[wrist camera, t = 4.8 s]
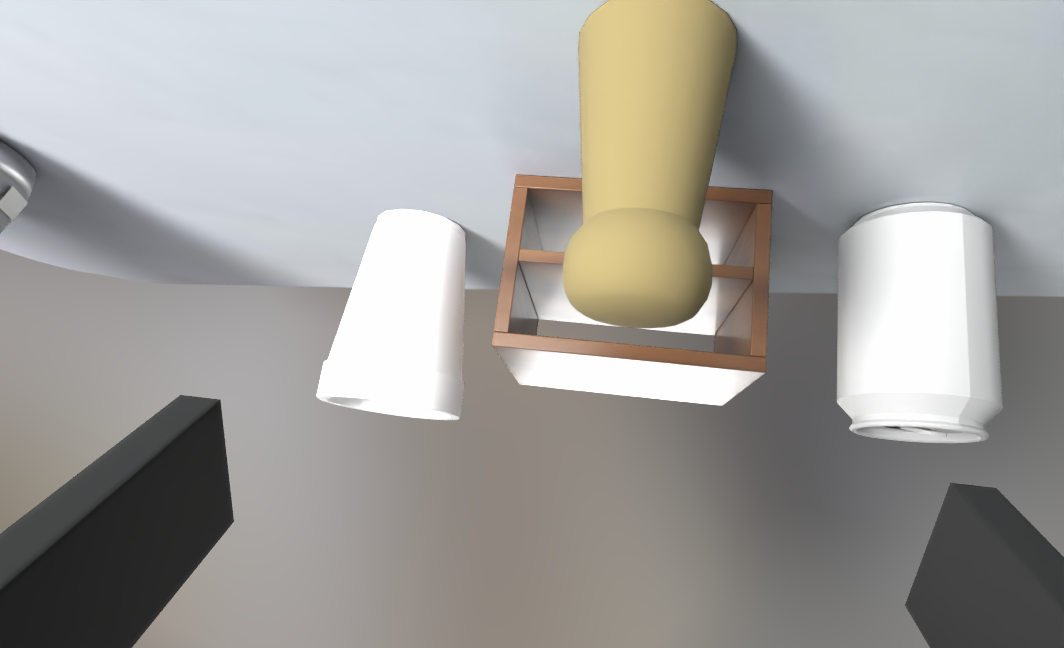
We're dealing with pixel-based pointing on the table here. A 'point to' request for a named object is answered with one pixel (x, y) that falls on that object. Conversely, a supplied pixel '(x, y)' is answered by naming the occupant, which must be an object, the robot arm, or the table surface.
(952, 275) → the can
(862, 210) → the table surface
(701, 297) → the tan knobbed peg
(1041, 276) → the table surface
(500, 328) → the brown square box
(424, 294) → the foam cup
